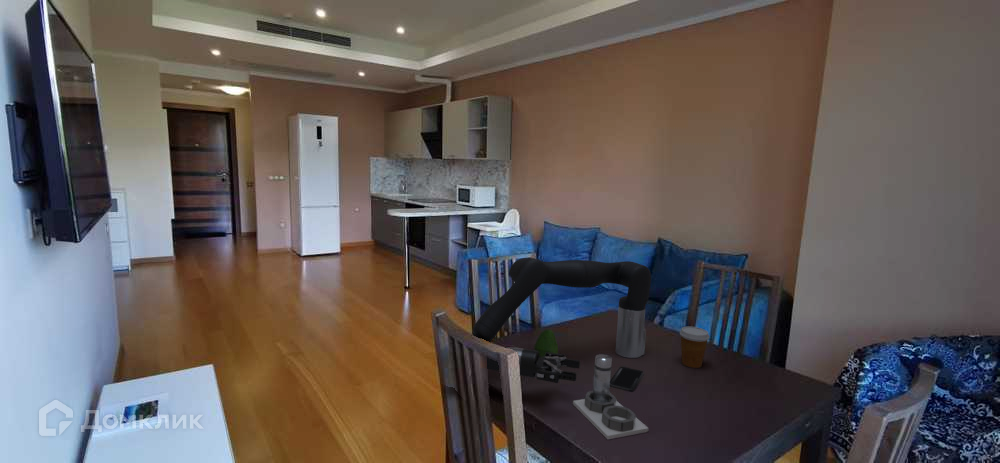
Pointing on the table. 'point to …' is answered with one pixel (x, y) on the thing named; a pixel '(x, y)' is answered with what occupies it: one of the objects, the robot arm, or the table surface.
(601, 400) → the tube
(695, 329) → the disposable coffee cup
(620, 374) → the phone
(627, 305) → the robot arm
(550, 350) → the avocado
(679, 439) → the table surface
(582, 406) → the hex nut holder
